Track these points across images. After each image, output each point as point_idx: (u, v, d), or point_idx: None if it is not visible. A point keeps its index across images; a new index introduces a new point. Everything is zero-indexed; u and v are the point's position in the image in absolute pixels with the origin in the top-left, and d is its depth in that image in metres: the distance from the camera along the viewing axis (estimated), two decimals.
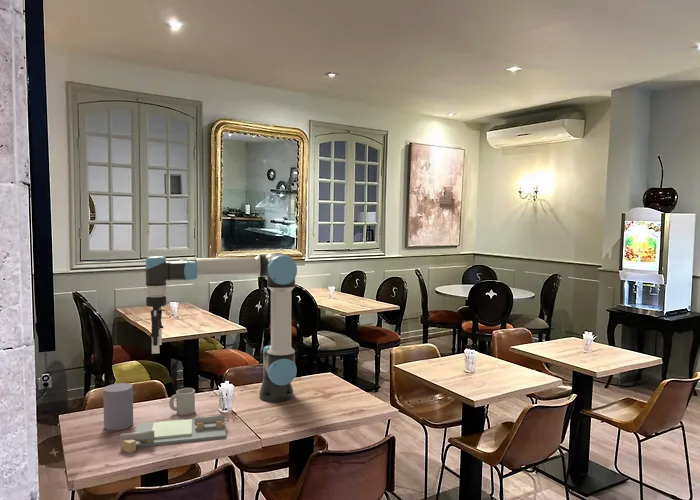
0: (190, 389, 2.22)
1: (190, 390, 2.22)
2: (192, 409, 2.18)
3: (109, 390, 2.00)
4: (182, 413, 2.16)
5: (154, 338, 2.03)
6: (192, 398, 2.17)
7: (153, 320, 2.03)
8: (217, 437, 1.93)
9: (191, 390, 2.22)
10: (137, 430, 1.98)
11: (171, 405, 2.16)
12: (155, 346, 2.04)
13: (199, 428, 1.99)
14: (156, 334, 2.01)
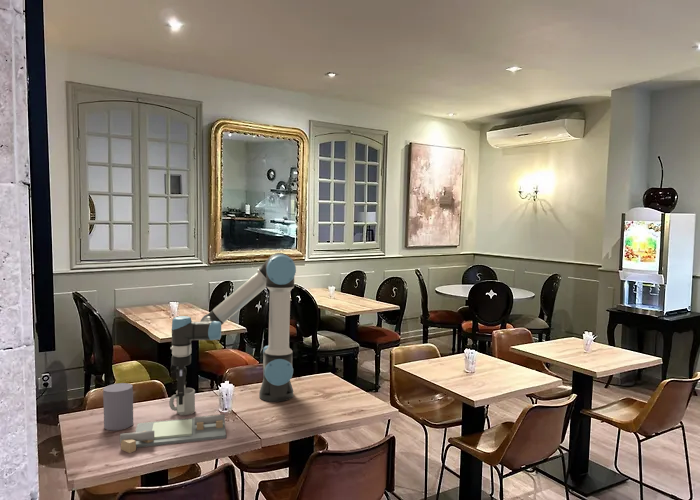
0: (190, 389, 2.22)
1: (191, 390, 2.22)
2: (192, 409, 2.18)
3: (109, 390, 2.00)
4: (182, 413, 2.16)
5: (180, 398, 2.10)
6: (192, 398, 2.17)
7: (179, 380, 2.10)
8: (217, 437, 1.93)
9: (191, 390, 2.22)
10: (137, 430, 1.98)
11: (171, 405, 2.16)
12: (180, 405, 2.11)
13: (199, 428, 1.99)
14: (182, 394, 2.09)
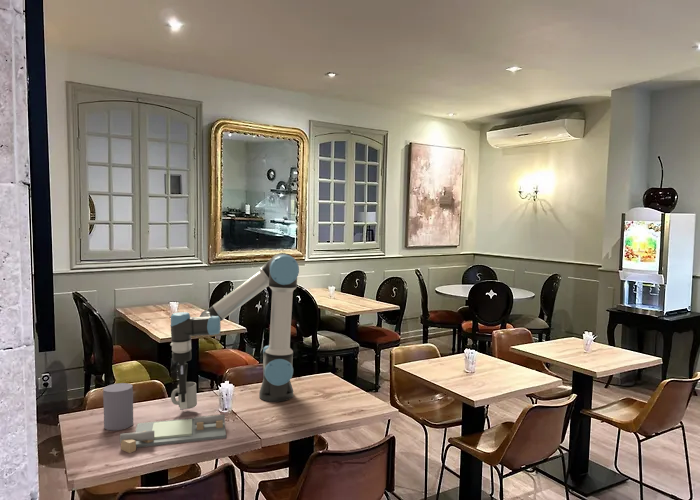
0: (191, 383, 2.22)
1: (192, 384, 2.22)
2: (194, 403, 2.18)
3: (109, 390, 2.00)
4: None
5: (182, 395, 2.13)
6: (194, 392, 2.17)
7: (181, 379, 2.11)
8: (217, 437, 1.93)
9: (192, 384, 2.21)
10: (137, 430, 1.98)
11: (173, 399, 2.16)
12: (183, 402, 2.14)
13: (199, 428, 1.99)
14: (184, 392, 2.11)
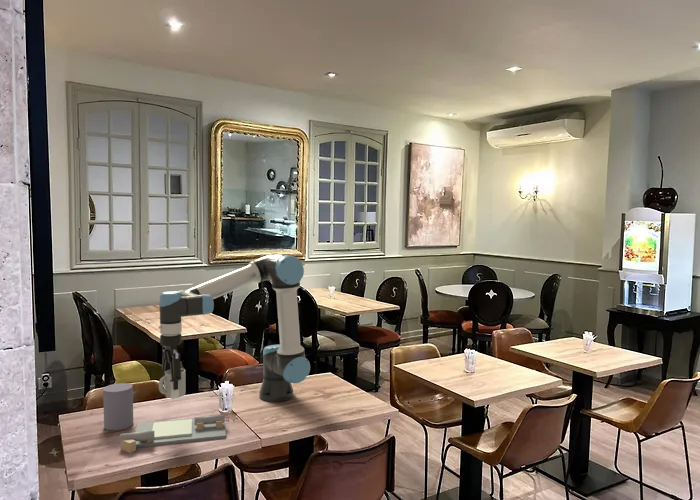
0: None
1: None
2: (184, 390, 1.98)
3: (109, 390, 2.00)
4: None
5: (175, 382, 1.93)
6: (184, 378, 1.98)
7: (175, 364, 1.91)
8: (217, 437, 1.93)
9: None
10: (137, 430, 1.98)
11: (161, 388, 1.94)
12: (175, 390, 1.94)
13: (199, 428, 1.99)
14: (179, 378, 1.92)
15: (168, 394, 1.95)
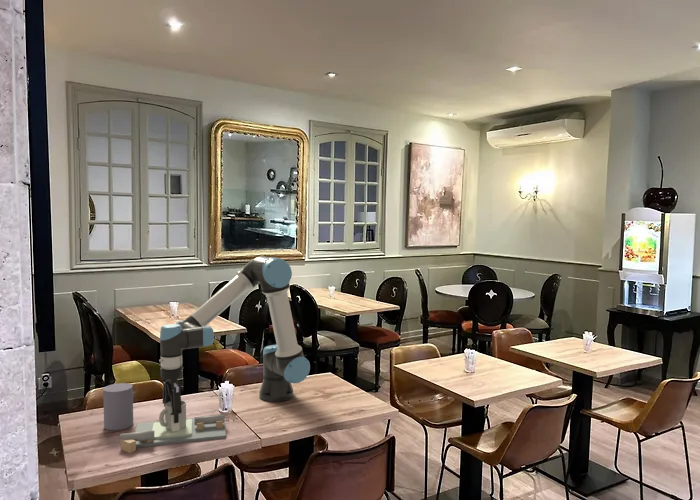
0: None
1: None
2: (185, 422, 1.99)
3: (109, 390, 2.00)
4: None
5: (176, 415, 1.94)
6: (185, 410, 1.99)
7: (176, 397, 1.92)
8: (217, 437, 1.93)
9: None
10: (137, 430, 1.98)
11: (162, 421, 1.95)
12: (175, 423, 1.95)
13: (199, 428, 1.99)
14: (179, 411, 1.93)
15: (168, 427, 1.96)
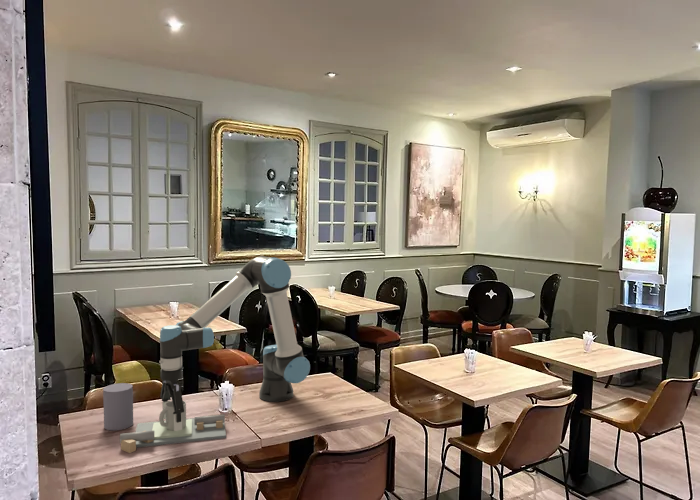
0: None
1: None
2: (185, 422, 1.99)
3: (109, 390, 2.00)
4: None
5: (178, 415, 1.91)
6: (185, 410, 1.99)
7: (177, 396, 1.91)
8: (217, 437, 1.93)
9: None
10: (137, 430, 1.98)
11: (162, 421, 1.95)
12: (178, 423, 1.93)
13: (199, 428, 1.99)
14: (182, 410, 1.90)
15: (168, 427, 1.96)
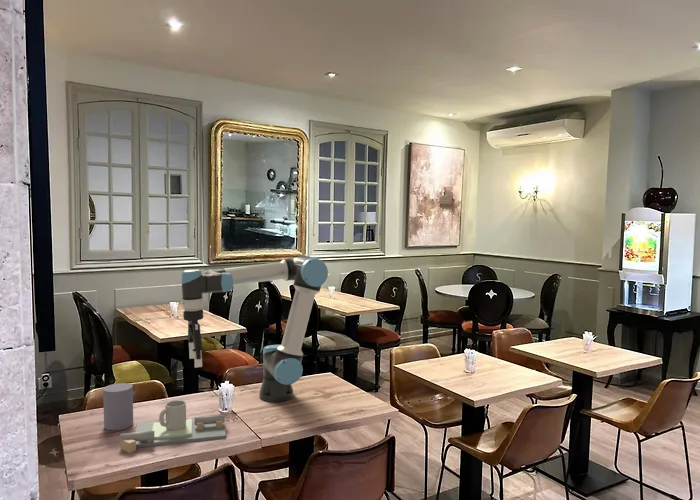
0: (178, 401, 2.02)
1: (179, 402, 2.02)
2: (185, 422, 1.99)
3: (109, 390, 2.00)
4: (175, 428, 1.96)
5: (197, 352, 2.03)
6: (185, 410, 1.99)
7: (196, 334, 2.03)
8: (217, 437, 1.93)
9: (179, 402, 2.02)
10: (137, 430, 1.98)
11: (162, 421, 1.95)
12: (198, 360, 2.04)
13: (199, 428, 1.99)
14: (200, 348, 2.01)
15: (168, 427, 1.96)
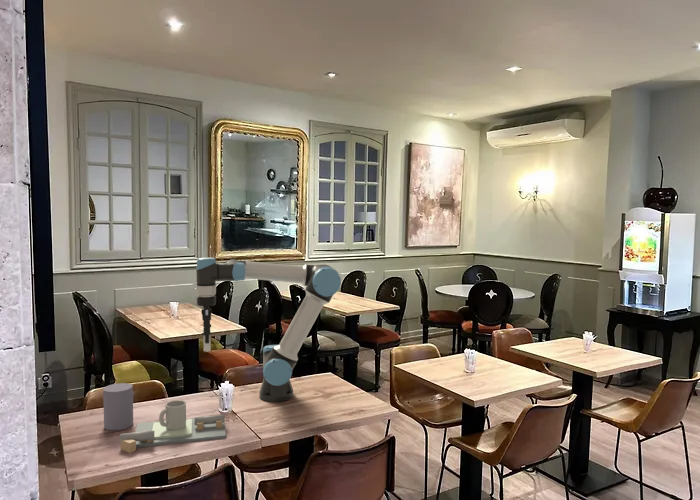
0: (178, 401, 2.02)
1: (179, 402, 2.02)
2: (185, 422, 1.99)
3: (109, 390, 2.00)
4: (175, 428, 1.96)
5: (206, 336, 2.11)
6: (185, 410, 1.99)
7: (205, 319, 2.11)
8: (217, 437, 1.93)
9: (179, 402, 2.02)
10: (137, 430, 1.98)
11: (162, 421, 1.95)
12: (207, 344, 2.13)
13: (199, 428, 1.99)
14: (208, 332, 2.10)
15: (168, 427, 1.96)
